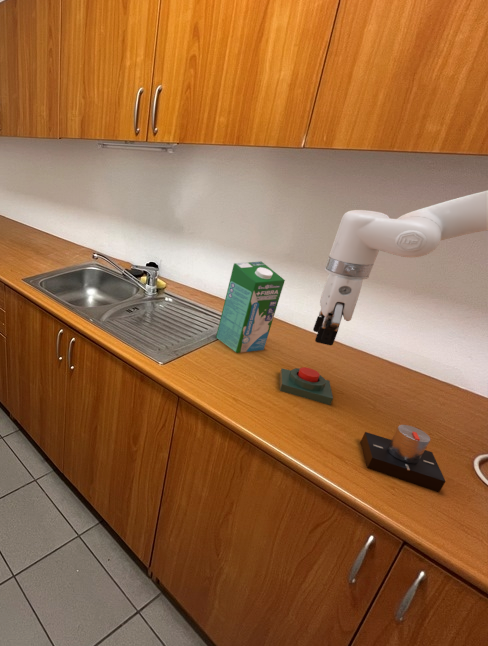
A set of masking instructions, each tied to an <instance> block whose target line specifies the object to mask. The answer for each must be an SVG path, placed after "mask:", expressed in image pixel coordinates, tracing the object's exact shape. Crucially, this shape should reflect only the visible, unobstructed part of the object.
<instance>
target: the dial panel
mask: <svg viewBox="0 0 488 646" xmlns="http://www.w3.org/2000/svg"><path fill="white" fill-rule="evenodd" d="M391 440H392V438H391V439H390V438H387V437H384V436H380V435H377V434H375V433H370V432H368V431H365V432H364V433H363V436H362V437H361V440H360V442H359V443H360V447H361V451H362V454H363V458H364V463H365V465H366V468H367V469H369V470H371V471H374V472H377V473H379V474H383V475H386V476H389V477H392V478H395V479H398V480H401V481H404V482H407V483H410V484H413V485H416V486H419V487H422V488H424V489H426V490H430V491H433V492H436V493H440V491H441V490H442V488H443V486H444V485H445V483H446V479H445V477H444V475H443V473H442V469H441V468H440V466H439V464H438V462H437V460H436V458H435V455H434V453H433V451H430V450H427V449H425V451H424V453H423V454H422V456H421V458H420V460H419V462H418V463H415V464H412V463H407V462H404V461H401V460H399V459H397V458H396V457H394V456H393V455H391V454H390V453H389V451H388V449H387V448H388V446H389V444H390V442H391Z"/></svg>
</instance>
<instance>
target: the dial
mask: <svg viewBox="0 0 488 646" xmlns="http://www.w3.org/2000/svg"><path fill="white" fill-rule="evenodd" d="M430 442H431V437H430V435H429V434H428V433H426V432H425V431H423V430H422V429H420V428H417V427H415V426H412V425H408V424H400V425H398V426H397V428H396V429H395V432H394V433H393V436H392V438H391V442H390V444H389V446H388V448H387V449H388V451H389V453H390V454H391V455H393V456H394V457H396V458H397V459H399V460H401V461H404V462H407V463H412V464H415V463H418V462H419V460H420V458H421V456H422V454H423V453H424V451H425V450H427V447H428V445H429V444H430Z"/></svg>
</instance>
